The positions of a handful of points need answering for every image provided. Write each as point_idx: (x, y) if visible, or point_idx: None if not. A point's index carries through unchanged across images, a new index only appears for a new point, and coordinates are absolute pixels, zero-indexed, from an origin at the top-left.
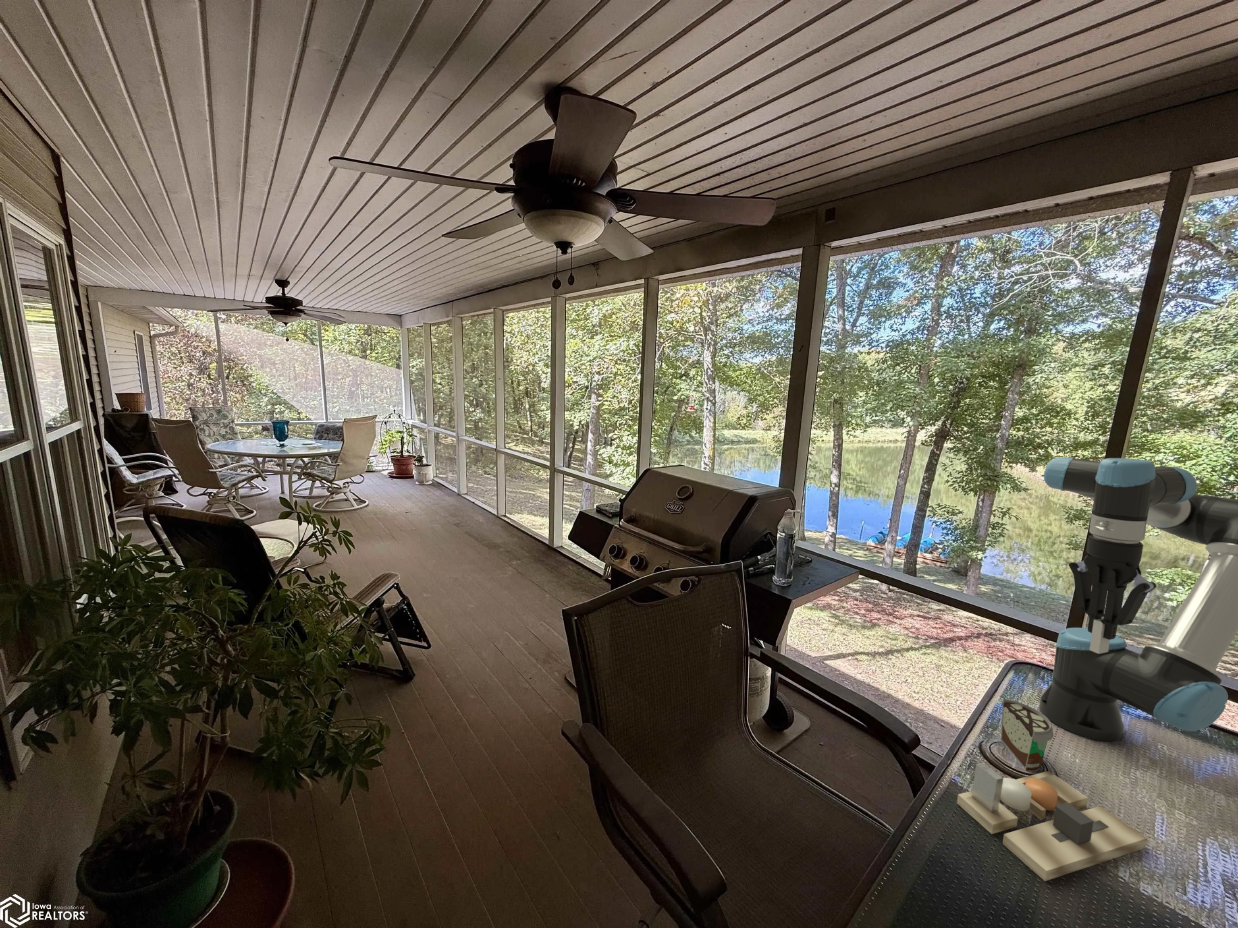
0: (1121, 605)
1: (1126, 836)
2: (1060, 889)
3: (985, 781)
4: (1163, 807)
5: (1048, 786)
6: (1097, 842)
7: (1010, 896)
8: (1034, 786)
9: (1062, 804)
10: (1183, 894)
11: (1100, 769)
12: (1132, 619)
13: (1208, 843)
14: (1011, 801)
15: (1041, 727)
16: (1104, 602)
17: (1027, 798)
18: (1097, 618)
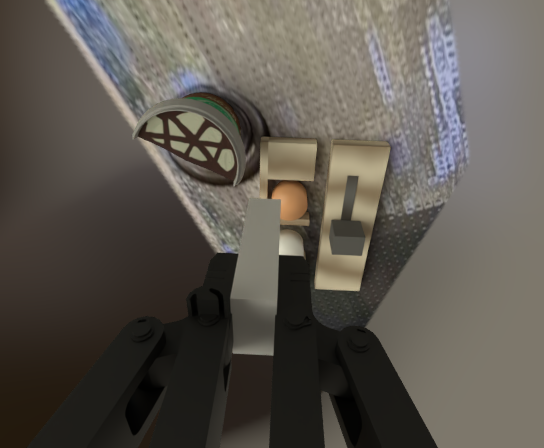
0: (323, 440)
1: (376, 171)
2: (368, 278)
3: None
4: (366, 7)
5: (290, 193)
6: (364, 213)
7: (352, 316)
8: (284, 211)
9: (333, 244)
10: (434, 176)
11: (270, 7)
12: (389, 368)
13: (430, 34)
14: None
15: (221, 147)
16: (214, 416)
17: (303, 255)
18: (232, 339)
